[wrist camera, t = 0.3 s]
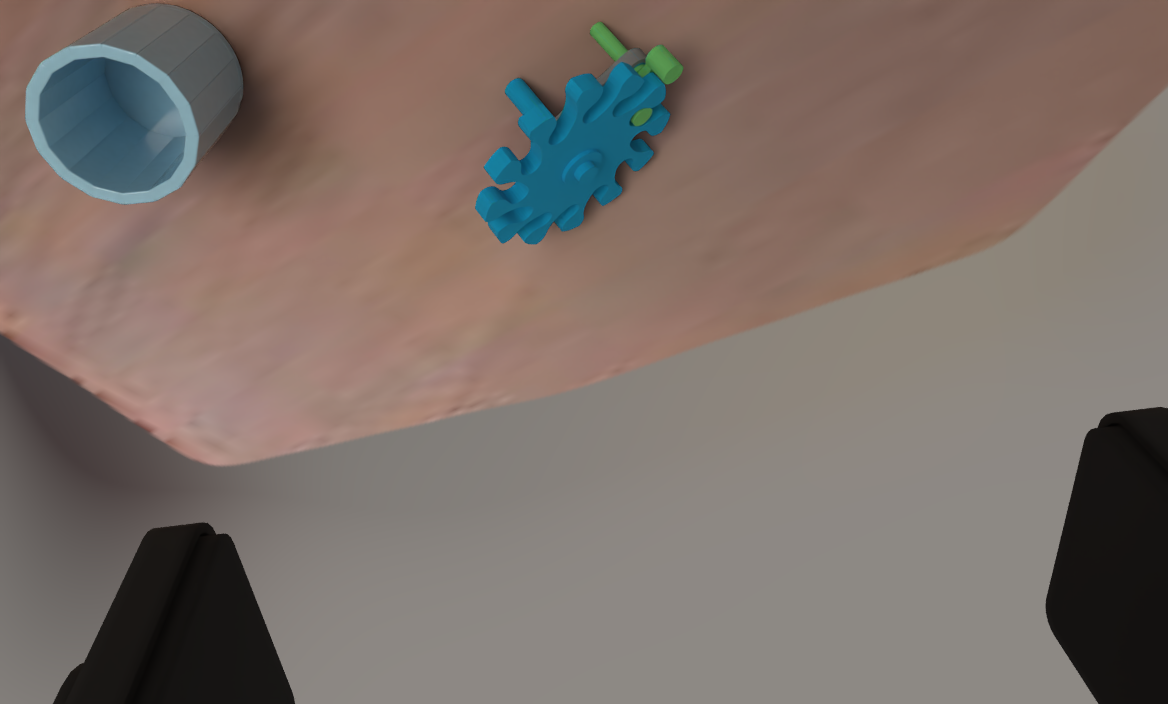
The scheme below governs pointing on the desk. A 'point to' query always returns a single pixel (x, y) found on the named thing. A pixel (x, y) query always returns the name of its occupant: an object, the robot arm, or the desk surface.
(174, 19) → the cup
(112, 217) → the desk surface
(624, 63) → the blue branched piece
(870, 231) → the desk surface
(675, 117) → the desk surface
